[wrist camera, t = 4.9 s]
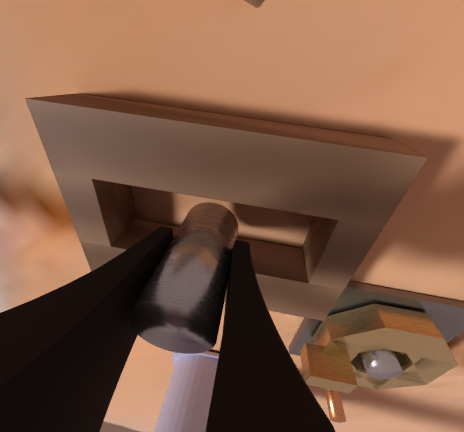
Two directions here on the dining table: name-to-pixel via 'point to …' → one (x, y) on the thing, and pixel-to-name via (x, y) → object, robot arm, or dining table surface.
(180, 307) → the pin
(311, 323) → the nut base
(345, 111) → the dining table surface
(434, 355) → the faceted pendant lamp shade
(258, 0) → the sandwich container
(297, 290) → the slot block
